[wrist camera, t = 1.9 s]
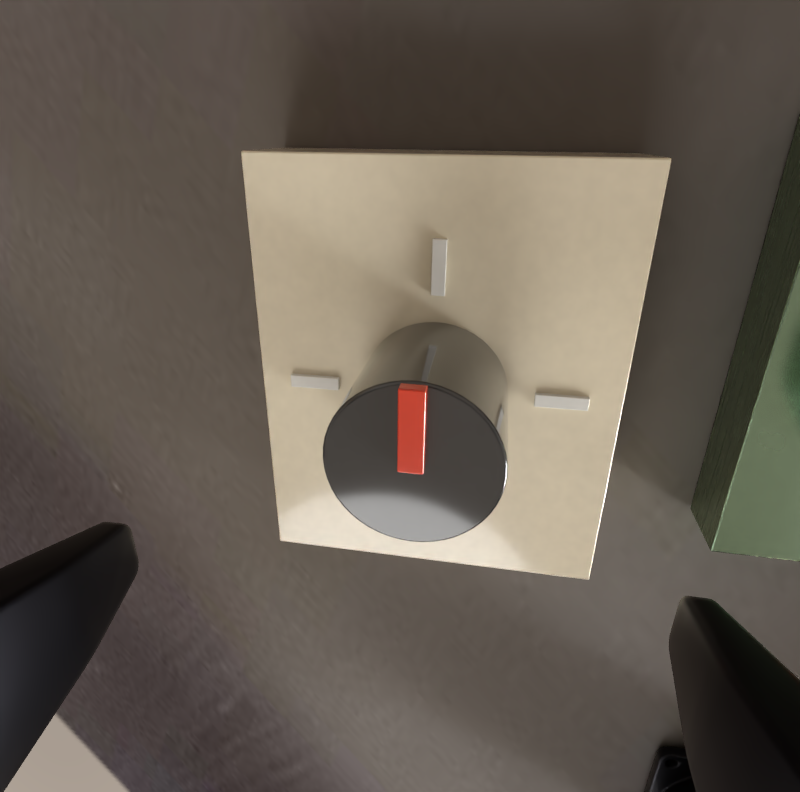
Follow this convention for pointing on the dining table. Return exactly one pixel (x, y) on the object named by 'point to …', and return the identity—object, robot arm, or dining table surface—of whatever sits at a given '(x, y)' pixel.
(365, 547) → the cream dial base plate
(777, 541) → the green button base
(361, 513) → the knob
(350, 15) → the dining table surface
